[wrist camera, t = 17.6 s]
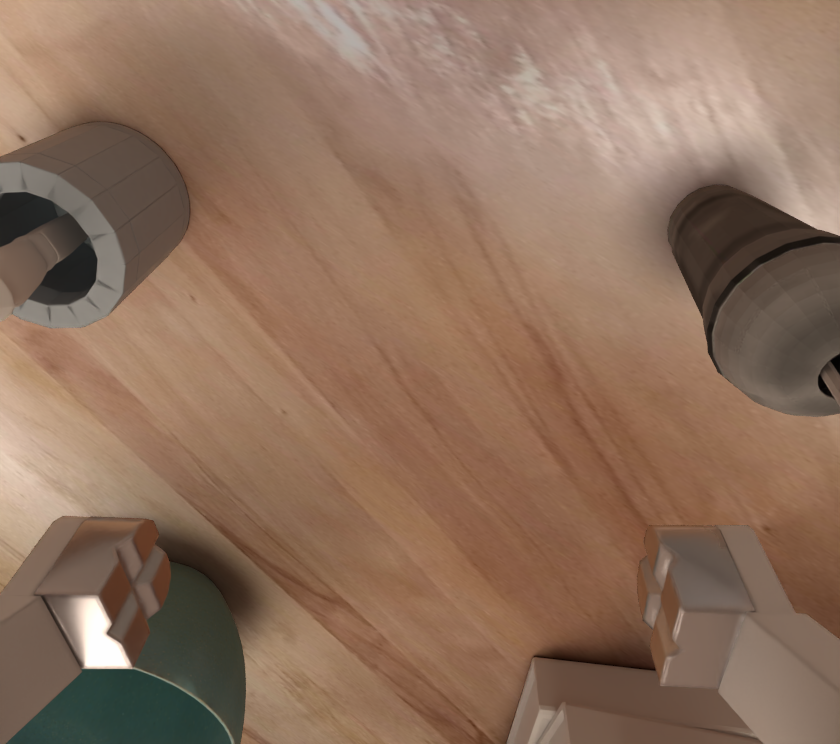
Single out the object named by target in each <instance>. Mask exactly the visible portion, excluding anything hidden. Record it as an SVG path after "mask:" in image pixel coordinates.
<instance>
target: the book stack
mask: <svg viewBox="0 0 840 744" xmlns="http://www.w3.org/2000/svg"><path fill="white" fill-rule="evenodd" d="M718 690H719V689H708V688H691V687H674V686H660V683H659V679H658V675H657V672H656V671H651V670H643V669H634V668H625V667H617V666H608V665H599V664H590V663H582V662H573V661H564V660H555V659H547V658H538V657H534V658H533V659H532V662H531V665H530V668H529V672H528V675H527V678H526V681H525V685H524V688H523V691H522V694H521V697H520V701H519V704H518V707H517V710H516V714H515V717H514V720H513V723H512V727H511V730H510V733H509V736H508V739H507V743H506V744H763V743H762V742H761V741H760V739H759V738H758V737H757V736H756V735H755V734H754V733H753V731H752V730H751V729H750V728H749V727H748V726H747V725H746V724H745V722H744V721H743V720H742V719H741V718H740V717H739V716H738V714H737V713H736V712H735V711H734V710H733V709H732V708H731V706H730V705H729V704H728V703H727V702H726V701H725V700H724V699H723V697H722V696H721V695H720V694H719V693H718Z"/></svg>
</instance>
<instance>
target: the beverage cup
mask: <svg viewBox="0 0 840 744" xmlns="http://www.w3.org/2000/svg"><path fill="white" fill-rule="evenodd" d="M667 230H668V241H669V243H670V245H671V247H672V253H673V255H674V257H675V259H676V262H677V264H678V266H679V268H680V270H681V272H682V275H683V277H684V279H685V281H686V283H687V285H688V288H689V290H690V292H691V294H692V296H693V298H694V300H695V303H696V305H697V307H698V309H699V311H700V313H701V316H702V318H703V323H704V331H705V335H706V340H707V344H708V353H709V355H710V357H711V359H712V361H713V363H714V365H715V367H716V369H717V371H718V373H720V374H721V375H722V376H723V377H724V378H726V379H727V380H728V381H729V382H730V383H732V384H733V385H734V386H735V387H737V388H738V389H739V390H741V391H742V392H743V393H744V394H745V395H747V396H748V397H749V398H750V399H752V400H753V401H754V402H756V403H758V404H761V405H763V406H765V407H768V408H771V409H774V410H776V411H779V412H782V413H785V414H789V415H796V416H812V417H820V416H828V415H834V414H839V413H840V236H838V235H835V234H832V233H829V232H825V231H822V230H817V229H815V228H813V227H811V226H810V225H808V224H806V223H804V222H802V221H800V220H798V219H796V218H794V217H792V216H790V215H789V214H787V213H785V212H783V211H781V210H779V209H777V208H775V207H773V206H771V205H770V204H768V203H766V202H764V201H762V200H760V199H758V198H756V197H754V196H752V195H750V194H747V193H745V192H742V191H740V190H737V189H735V188H733V187H730V186H727V185H712V186H708V187H704V188H700V189H698V190H697V191H695V192H693V193H691V194H690V195H688V196H687V197H686V198H685V199H684V200H683V201H682V202H681V203H679V204H678V205H677V207H676V209H675V210H674V212H673V214H672V216H671V217H670V221H669V225H668V229H667Z"/></svg>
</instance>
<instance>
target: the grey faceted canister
mask: <svg viewBox="0 0 840 744" xmlns="http://www.w3.org/2000/svg"><path fill="white" fill-rule="evenodd" d="M66 213H69V214H71V215H72V216H73V217H74V218H75V219H76V221H77V222H78V223H79V225H80V226H81V227H82V229H83V230H84V231H85V232H86V234H87V235H88V236H89V237H88V238H87V239H86V240H85V241H84V242H83V243H82V244H81V245H79V246H78V247H77V248H76V249H75V250H74V251H73V252H72V253H71V254H70V255H68V256H67V257H66V258H64V259H63V260H61V261H60V262H58V263H56V264H55V265H54V267H53V268H52V269H51V270H49V271H47V273H46V275H45V276H44V278H43V280H42V282H41V283H40V285H39V286H38V287H37V288H36V290H35V291H34V292H33V293H32V294H31V296H30V297H29V298H28V299H27V300H26V301H25V302H24V303H23V304H22V305H20V306H18V307H16V308H14V310H13V313H12V314H13V315H15V316H16V317H19V319H22V320H25V321H29V322H32V323H35V324H38V325H42V326H45V327H48V328H81V327H85V326H87V325H90V324H92V323H94V322H96V321H98V320H100V319H102V318H104V317H106V316H108V315H109V314H110V313H111V312H112V311H113V310H114V309H115V308H116V307H117V306H118V305H119V304H120V303H121V302H122V301H123V300H124V299H125V298H126V297H127V296H128V295H129V294H130V293H131V292H132V291H133V290H134V289H135V288H136V287H137V286H138V285H139V284H140V283H141V282H142V281H143V280H144V279H145V278H146V277H147V276H148V275H149V274H150V273H152V272H153V271H154V270H155V269H156V268H157V267H158V266H159V265H160V264H161V263H162V262H163V261H164V260H165V259H166V258H167V257H168V255H169V254H170V253H171V251H172V250H173V249H174V248H175V247H176V246H177V245H178V244H179V243H180V241H181V240H182V238H183V236H184V234H185V232H186V229H187V226H188V222H189V213H190V208H189V199H188V193H187V190H186V187H185V183H184V181H183V179H182V177H181V175H180V173H179V171H178V169H177V168H176V166H175V165H174V163H173V162H172V161H171V159H170V158H169V157H168V156H167V154H166V153H165V152H164V151H163V150H162V149H161V148H160V147H159V146H158V145H156V144H155V143H154V142H153V141H151V140H150V139H149V138H147V137H146V136H144V135H142V134H141V133H139V132H137V131H135V130H133V129H131V128H128V127H126V126H122V125H119V124H115V123H109V122H91V123H86V124H82V125H79V126H74V127H71V128H68V129H66V130H64V131H61V132H59V133H56V134H54V135H52V136H49V137H47V138H44V139H42V140H40V141H37V142H35V143H32V144H30V145H28V146H25V147H23V148H20V149H18V150H16V151H13V152H11V153H8V154H6V155H3V156H1V157H0V247H2V246H5V245H7V244H10V243H11V242H12V241H13V240H15V239H16V238H18V237H20V236H24V235H26V234H28V233H29V232H31V231H32V230H34V229H36V228H37V227H39V226H41V225H43V224H45V223H47V222H49V221H51V220H53V219H55V218H58V217H60V216H62V215H64V214H66Z"/></svg>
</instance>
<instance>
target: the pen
mask: <svg viewBox="0 0 840 744" xmlns="http://www.w3.org/2000/svg"><path fill="white" fill-rule="evenodd" d="M88 237H89V236H88V235H87V234H86V232H85V231H84V230H83V229H82V227H81V226H80V225H79V223H78V222H77V221H76V219H75V218H74V217H73V216H72V215H71V214H69V213H66V214H64V215H62V216H60V217H58V218H55V219H53V220H51V221H49V222H47V223H45V224H43V225H41V226H39V227H37V228H36V229H34V230H32V231H31V232H29V233H28V234H26V235H24V236H20V237H18V238H16V239H15V240H13V241H12V242H11V243H10V244H7V245H5V246H2V247H0V321H3V320H5V319H6V318H8V317H9V316H10V315H12V313H13V310H14V308H16V307H18V306H20V305H22V304H23V303H24V302H25V301H26V300H27V299H28V298H29V297H30V296H31V294H32V293H33V292H34V291H35V290H36V288H37V287H38V286H39V285H40V283H41V282H42V280H43V278H44V276H45V275H46V273H47V271H49V270H51V269H52V268H53V267H54V265H55V264H56V263H58V262H60V261H61V260H63V259H64V258H66V257H67V256H68V255H70V254H71V253H72V252H73V251H74V250H75V249H76V248H77V247H78V246H79V245H81V244H82V243H83V242H84V241H85V240H86V239H87V238H88Z"/></svg>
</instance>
